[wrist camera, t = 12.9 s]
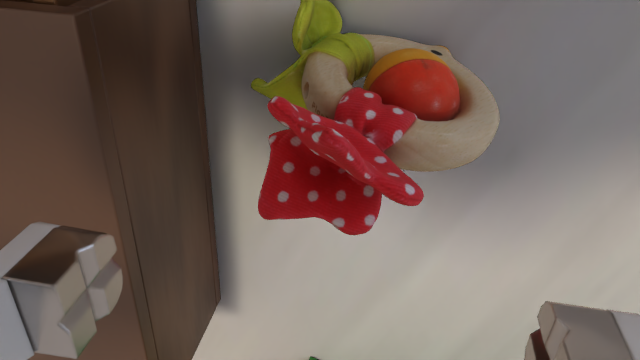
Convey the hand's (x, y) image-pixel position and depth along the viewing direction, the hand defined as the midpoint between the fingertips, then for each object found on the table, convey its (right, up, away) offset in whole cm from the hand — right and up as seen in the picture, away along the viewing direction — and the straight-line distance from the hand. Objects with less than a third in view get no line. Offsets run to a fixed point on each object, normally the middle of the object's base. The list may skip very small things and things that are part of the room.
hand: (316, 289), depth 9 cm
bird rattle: (+3, +8, +12) cm, 15 cm away
